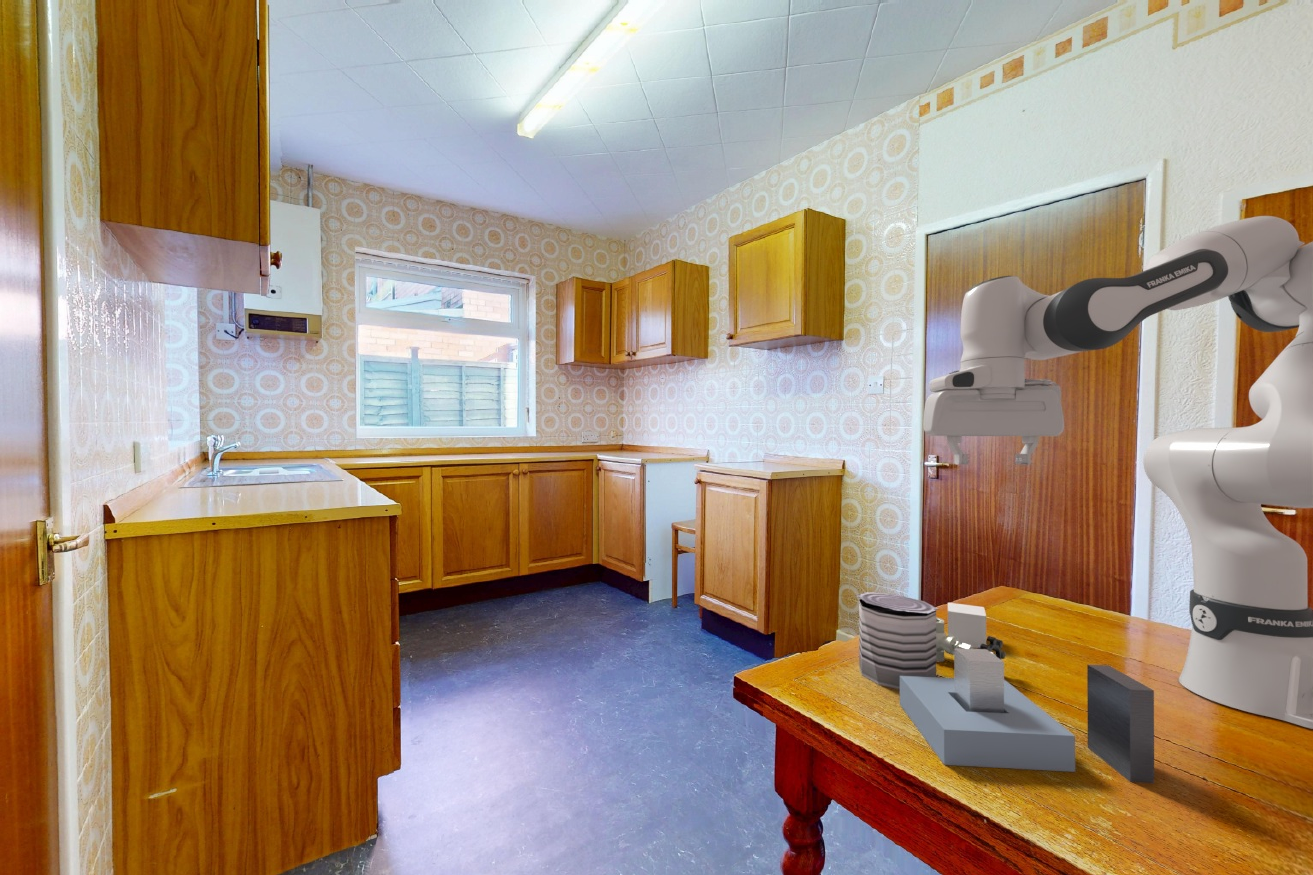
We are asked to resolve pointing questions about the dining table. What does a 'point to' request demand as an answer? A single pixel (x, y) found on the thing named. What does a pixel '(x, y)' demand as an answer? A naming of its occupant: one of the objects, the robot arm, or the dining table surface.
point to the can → (896, 638)
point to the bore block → (986, 729)
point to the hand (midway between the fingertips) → (992, 464)
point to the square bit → (978, 680)
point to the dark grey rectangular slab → (1121, 722)
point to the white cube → (967, 624)
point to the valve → (953, 642)
